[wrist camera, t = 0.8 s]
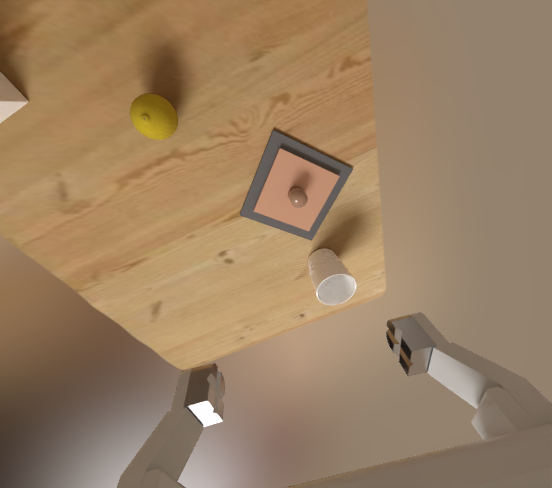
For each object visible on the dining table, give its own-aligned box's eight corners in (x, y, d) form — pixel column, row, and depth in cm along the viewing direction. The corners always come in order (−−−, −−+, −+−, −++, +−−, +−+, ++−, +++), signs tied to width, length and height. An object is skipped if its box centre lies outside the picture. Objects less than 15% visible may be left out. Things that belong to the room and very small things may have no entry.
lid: (279, 147, 39) (282, 151, 36) (338, 175, 42) (346, 180, 39) (253, 209, 44) (254, 217, 41) (307, 229, 48) (312, 238, 44)
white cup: (304, 275, 54) (315, 307, 46) (305, 247, 50) (317, 276, 42) (336, 272, 55) (353, 303, 46) (340, 244, 51) (359, 271, 42)
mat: (273, 129, 38) (273, 130, 37) (352, 168, 42) (353, 169, 42) (239, 214, 44) (239, 215, 44) (311, 239, 49) (311, 240, 49)
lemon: (177, 93, 34) (161, 90, 27) (186, 135, 37) (173, 142, 30) (138, 95, 33) (111, 92, 27) (150, 137, 36) (129, 144, 29)
